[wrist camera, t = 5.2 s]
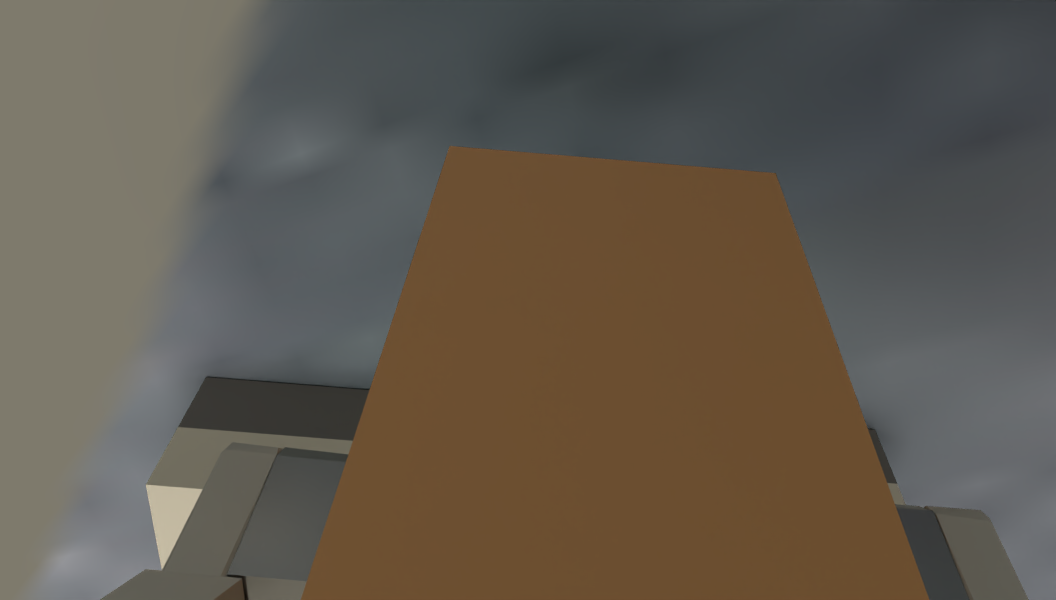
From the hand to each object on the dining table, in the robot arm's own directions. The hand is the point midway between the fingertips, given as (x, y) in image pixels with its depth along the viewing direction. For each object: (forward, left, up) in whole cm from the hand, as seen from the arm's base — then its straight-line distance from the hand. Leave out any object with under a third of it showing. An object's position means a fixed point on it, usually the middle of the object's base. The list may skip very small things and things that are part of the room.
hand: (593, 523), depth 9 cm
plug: (0, 0, -4) cm, 4 cm away
